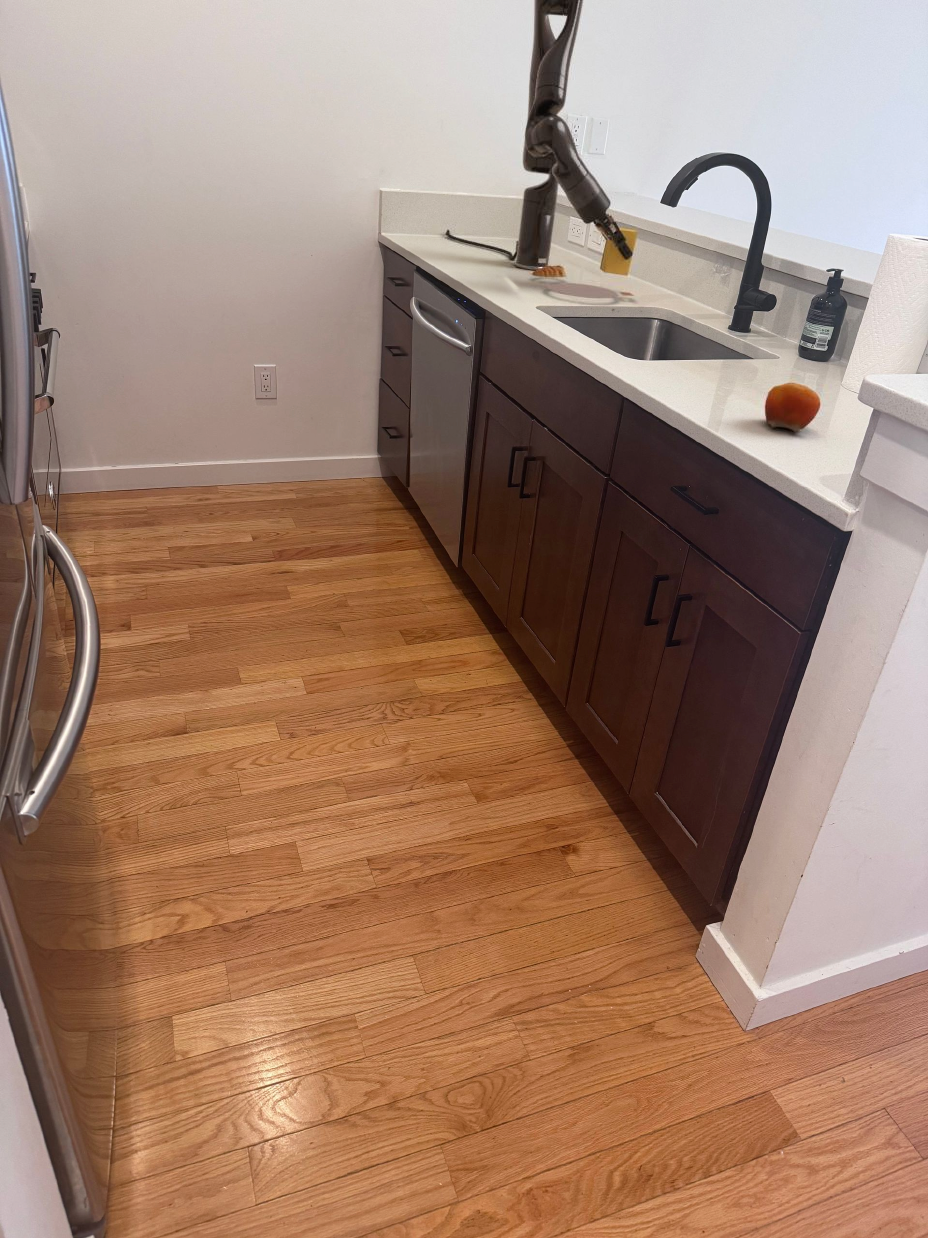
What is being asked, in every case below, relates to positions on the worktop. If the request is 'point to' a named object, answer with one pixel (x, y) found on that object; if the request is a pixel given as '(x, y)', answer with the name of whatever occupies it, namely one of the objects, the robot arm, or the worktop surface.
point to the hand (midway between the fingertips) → (626, 254)
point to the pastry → (550, 271)
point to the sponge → (618, 254)
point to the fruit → (791, 406)
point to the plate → (581, 290)
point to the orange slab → (626, 293)
